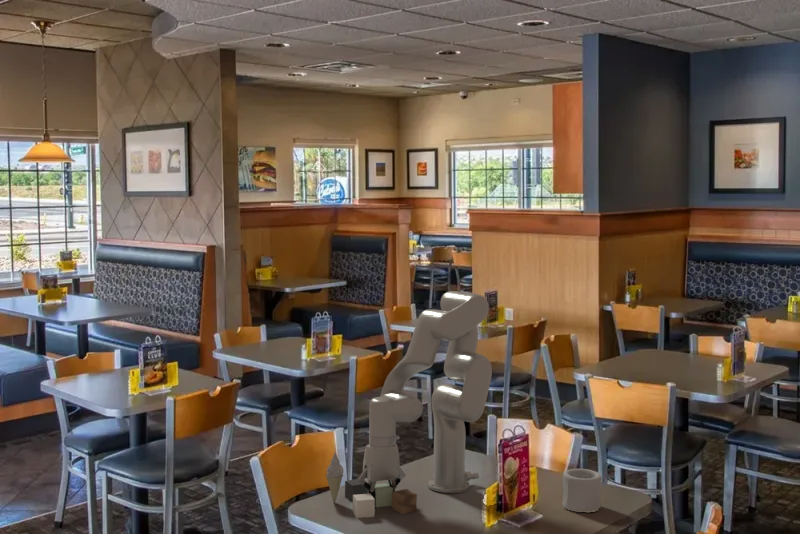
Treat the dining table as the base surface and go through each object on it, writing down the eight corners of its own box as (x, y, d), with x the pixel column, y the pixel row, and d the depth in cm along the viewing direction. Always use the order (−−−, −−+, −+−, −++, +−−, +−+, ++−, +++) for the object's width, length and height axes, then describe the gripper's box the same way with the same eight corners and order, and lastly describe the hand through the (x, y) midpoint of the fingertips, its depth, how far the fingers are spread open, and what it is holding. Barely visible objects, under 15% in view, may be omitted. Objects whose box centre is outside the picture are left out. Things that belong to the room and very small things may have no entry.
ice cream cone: (340, 506, 254) (340, 454, 253) (323, 504, 255) (323, 453, 254) (345, 500, 259) (345, 449, 258) (328, 499, 260) (328, 448, 259)
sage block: (385, 499, 260) (386, 483, 259) (392, 505, 255) (393, 488, 255) (370, 502, 258) (370, 485, 257) (376, 507, 253) (376, 490, 253)
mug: (608, 510, 254) (609, 475, 253) (580, 516, 248) (581, 481, 248) (576, 496, 266) (577, 463, 265) (548, 502, 260) (549, 468, 259)
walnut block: (406, 505, 255) (406, 488, 255) (416, 511, 251) (416, 493, 251) (391, 509, 252) (392, 491, 252) (401, 514, 248) (402, 496, 248)
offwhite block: (369, 510, 251) (370, 493, 250) (374, 516, 246) (374, 499, 246) (352, 512, 249) (352, 494, 249) (356, 518, 245) (357, 500, 244)
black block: (360, 495, 264) (360, 478, 264) (367, 500, 260) (368, 483, 259) (344, 497, 262) (345, 480, 261) (352, 502, 257) (352, 485, 257)
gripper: (403, 434, 262) (402, 495, 263) (349, 440, 255) (349, 502, 256) (414, 441, 255) (413, 502, 257) (359, 447, 248) (358, 510, 249)
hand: (381, 501), depth 256 cm, fingers closed on sage block, 5 cm apart
